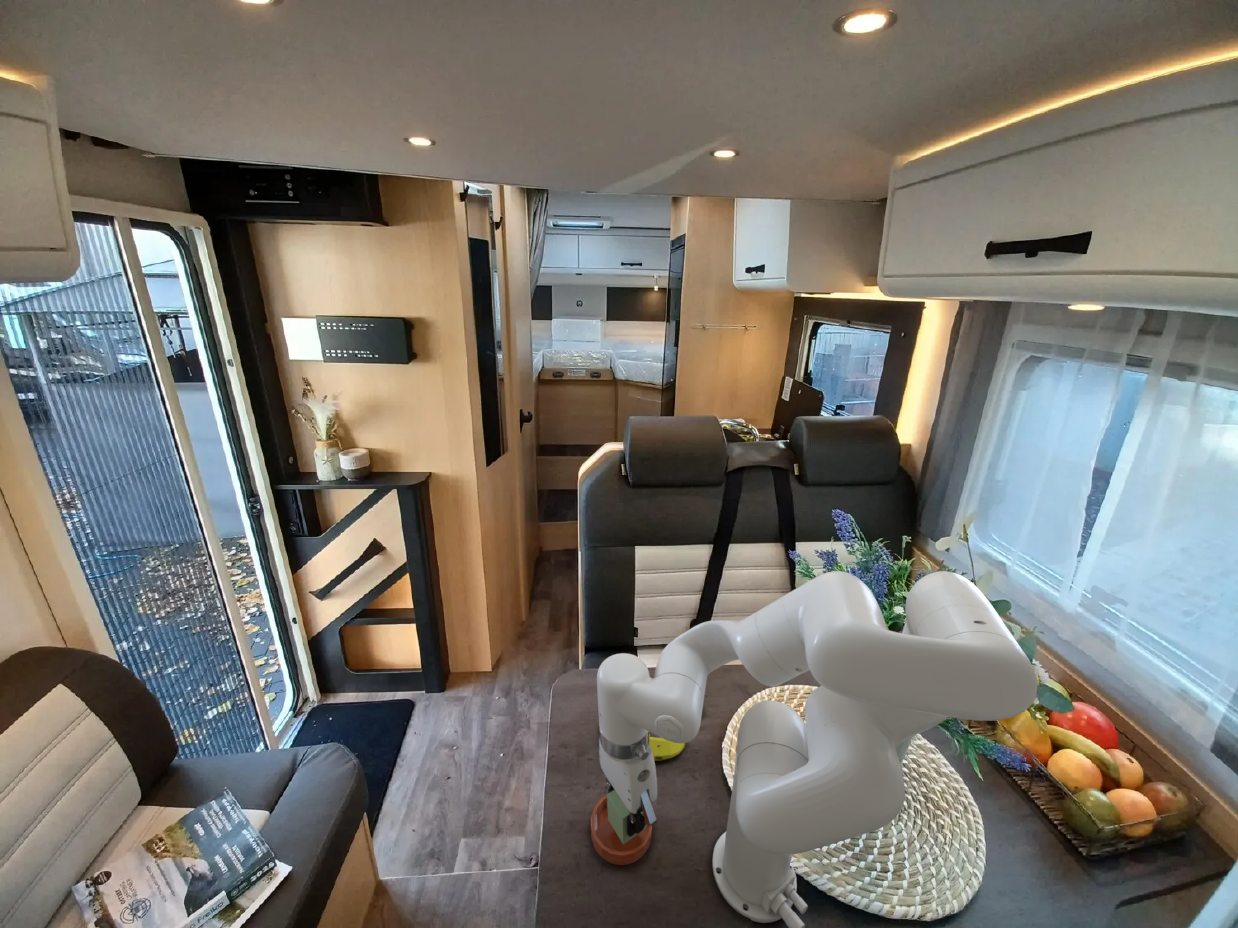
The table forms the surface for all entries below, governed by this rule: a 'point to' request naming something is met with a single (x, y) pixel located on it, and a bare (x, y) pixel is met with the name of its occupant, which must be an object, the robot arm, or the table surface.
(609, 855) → the bowl
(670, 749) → the banana
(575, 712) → the table surface
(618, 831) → the block
